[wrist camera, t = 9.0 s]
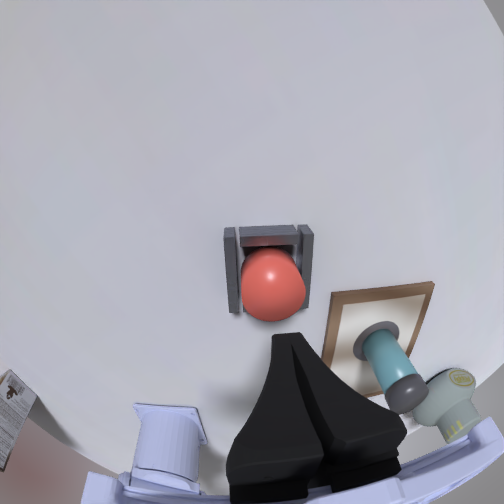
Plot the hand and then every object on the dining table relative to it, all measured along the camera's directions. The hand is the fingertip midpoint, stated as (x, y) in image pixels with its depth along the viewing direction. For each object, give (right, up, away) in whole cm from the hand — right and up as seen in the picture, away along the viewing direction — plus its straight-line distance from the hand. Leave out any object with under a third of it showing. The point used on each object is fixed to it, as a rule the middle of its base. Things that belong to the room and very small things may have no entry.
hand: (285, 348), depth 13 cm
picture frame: (+11, -6, +13) cm, 18 cm away
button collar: (-1, +4, +9) cm, 9 cm away
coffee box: (-40, -17, +16) cm, 46 cm away
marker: (+11, -4, +12) cm, 17 cm away
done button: (0, +3, +7) cm, 8 cm away
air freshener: (+26, -15, +19) cm, 35 cm away
